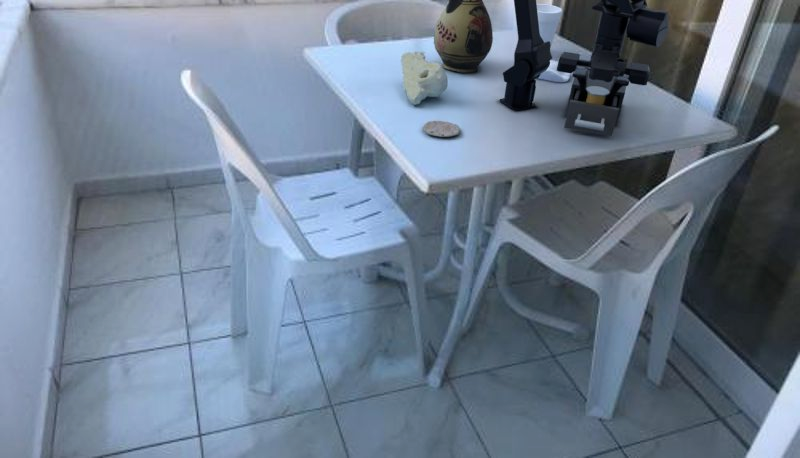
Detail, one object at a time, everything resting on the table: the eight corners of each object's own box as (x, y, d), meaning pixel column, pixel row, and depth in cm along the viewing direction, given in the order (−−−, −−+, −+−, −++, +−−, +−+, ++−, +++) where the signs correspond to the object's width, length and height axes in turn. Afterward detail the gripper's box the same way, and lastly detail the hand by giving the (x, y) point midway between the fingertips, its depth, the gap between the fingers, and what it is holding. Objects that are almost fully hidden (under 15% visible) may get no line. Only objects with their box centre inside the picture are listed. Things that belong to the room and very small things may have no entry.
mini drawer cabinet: (616, 126, 146) (625, 93, 142) (565, 117, 149) (572, 84, 145) (619, 105, 157) (628, 73, 153) (572, 96, 160) (578, 65, 155)
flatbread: (418, 134, 137) (418, 129, 137) (429, 120, 143) (429, 116, 143) (454, 141, 135) (455, 137, 135) (464, 128, 141) (464, 123, 141)
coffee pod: (592, 117, 140) (597, 96, 137) (576, 108, 143) (581, 87, 140) (609, 113, 142) (614, 92, 139) (593, 105, 145) (598, 84, 142)
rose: (546, 68, 163) (528, 55, 171) (543, 84, 166) (525, 71, 173) (580, 65, 166) (560, 53, 174) (576, 82, 169) (557, 69, 176)
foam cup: (555, 60, 182) (564, 14, 175) (523, 58, 182) (531, 12, 175) (549, 49, 190) (558, 4, 183) (518, 47, 190) (525, 2, 182)
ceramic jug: (473, 55, 182) (486, -59, 165) (498, 74, 170) (515, -46, 154) (417, 59, 177) (425, -58, 160) (439, 79, 165) (451, -45, 148)
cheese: (444, 118, 150) (466, 64, 154) (427, 100, 145) (450, 45, 149) (396, 117, 160) (418, 67, 164) (379, 101, 155) (401, 49, 159)
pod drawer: (610, 146, 136) (617, 118, 132) (561, 136, 138) (566, 109, 135) (615, 115, 149) (622, 89, 146) (570, 107, 152) (576, 82, 148)
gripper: (560, 39, 129) (546, 111, 138) (657, 54, 124) (636, 127, 133) (567, 24, 138) (553, 93, 146) (657, 38, 133) (638, 108, 142)
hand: (594, 105), depth 142 cm, fingers closed on coffee pod, 4 cm apart
